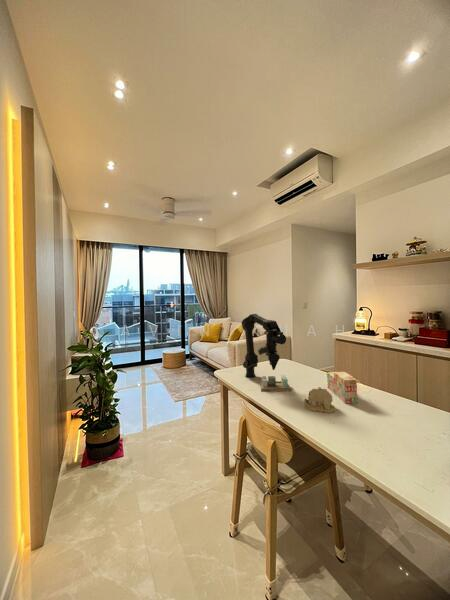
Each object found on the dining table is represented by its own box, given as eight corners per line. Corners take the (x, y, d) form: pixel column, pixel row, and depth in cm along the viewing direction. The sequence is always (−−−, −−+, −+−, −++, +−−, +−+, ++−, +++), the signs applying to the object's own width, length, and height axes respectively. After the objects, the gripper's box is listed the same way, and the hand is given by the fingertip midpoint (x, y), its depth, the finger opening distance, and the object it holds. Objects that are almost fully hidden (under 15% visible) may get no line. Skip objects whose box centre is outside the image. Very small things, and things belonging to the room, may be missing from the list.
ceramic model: (331, 403, 127) (331, 383, 126) (338, 413, 116) (337, 392, 115) (303, 402, 129) (302, 383, 129) (306, 412, 118) (306, 391, 117)
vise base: (259, 383, 157) (259, 375, 157) (287, 383, 156) (286, 374, 156) (261, 391, 145) (260, 381, 145) (290, 390, 144) (290, 381, 144)
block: (274, 384, 152) (274, 376, 152) (275, 386, 148) (275, 378, 148) (268, 384, 153) (268, 376, 152) (269, 386, 149) (268, 378, 148)
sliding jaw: (281, 382, 154) (281, 375, 154) (285, 382, 154) (285, 375, 153) (283, 387, 146) (283, 379, 146) (287, 387, 146) (287, 379, 146)
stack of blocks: (327, 387, 146) (326, 367, 146) (337, 387, 147) (337, 366, 146) (345, 403, 125) (344, 379, 125) (357, 403, 125) (356, 379, 125)
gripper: (256, 339, 159) (257, 363, 160) (259, 345, 141) (260, 372, 141) (273, 338, 159) (274, 363, 159) (279, 344, 140) (280, 372, 141)
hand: (272, 367), depth 150 cm, fingers open, 9 cm apart
